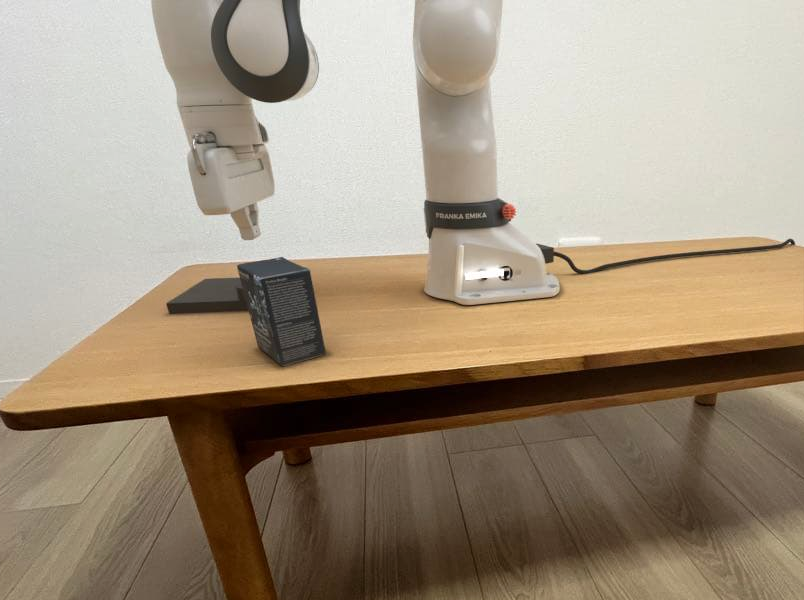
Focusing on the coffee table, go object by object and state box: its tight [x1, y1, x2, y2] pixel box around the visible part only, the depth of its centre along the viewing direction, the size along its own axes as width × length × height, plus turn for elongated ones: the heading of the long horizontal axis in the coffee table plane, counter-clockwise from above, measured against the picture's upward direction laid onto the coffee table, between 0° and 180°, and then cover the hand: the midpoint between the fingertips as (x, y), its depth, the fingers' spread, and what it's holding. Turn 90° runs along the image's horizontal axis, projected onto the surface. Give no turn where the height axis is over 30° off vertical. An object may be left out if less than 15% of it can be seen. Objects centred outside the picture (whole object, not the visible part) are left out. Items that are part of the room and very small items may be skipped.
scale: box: [165, 277, 249, 315], centre depth 85 cm, size 16×14×4 cm
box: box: [236, 256, 327, 367], centre depth 64 cm, size 8×6×11 cm
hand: (252, 238), depth 78 cm, fingers closed
